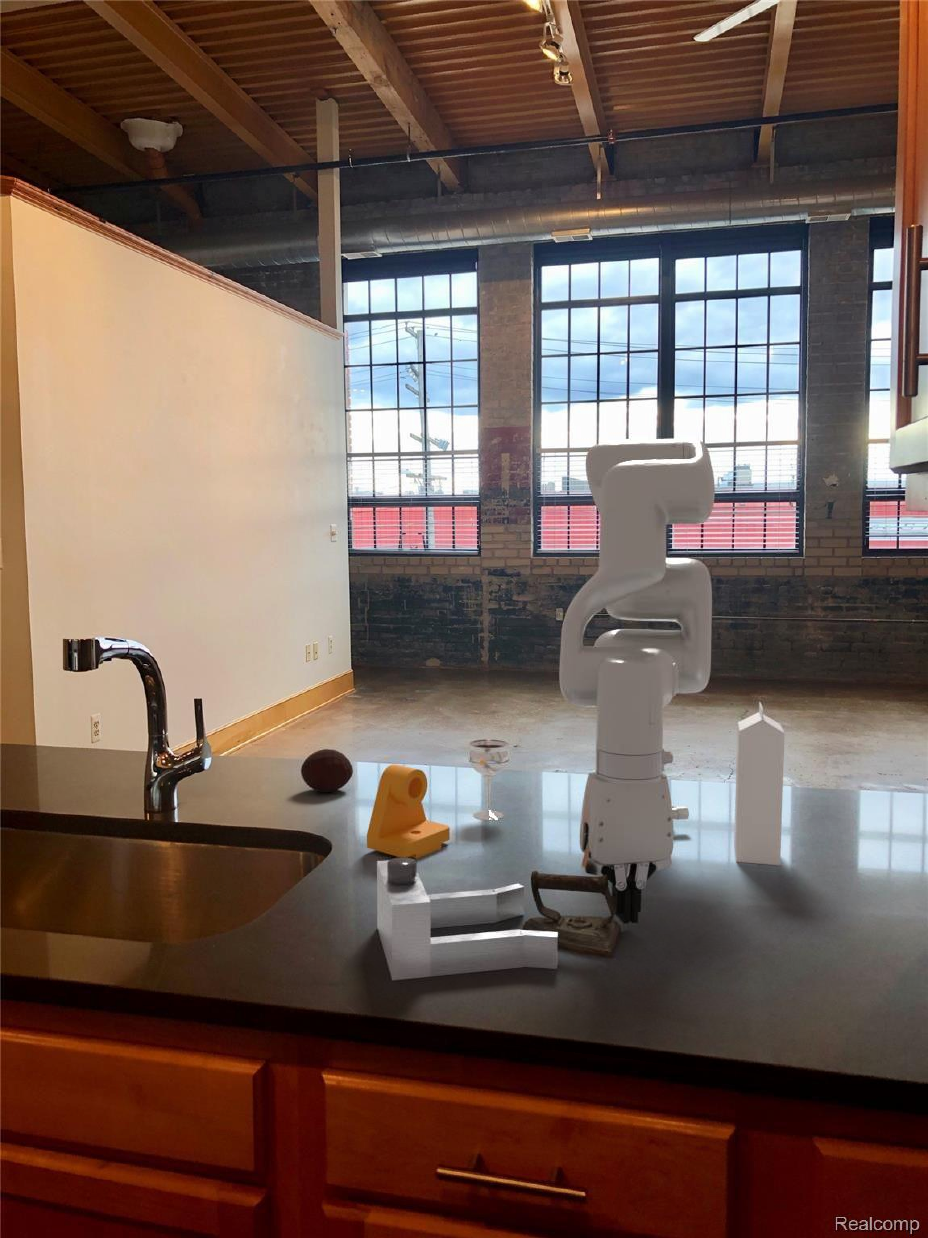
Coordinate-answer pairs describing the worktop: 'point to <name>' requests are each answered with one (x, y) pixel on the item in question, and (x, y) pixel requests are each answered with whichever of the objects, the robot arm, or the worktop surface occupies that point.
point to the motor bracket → (415, 913)
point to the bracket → (403, 816)
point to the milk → (759, 790)
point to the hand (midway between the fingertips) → (626, 918)
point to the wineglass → (488, 767)
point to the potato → (326, 770)
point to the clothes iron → (576, 930)
